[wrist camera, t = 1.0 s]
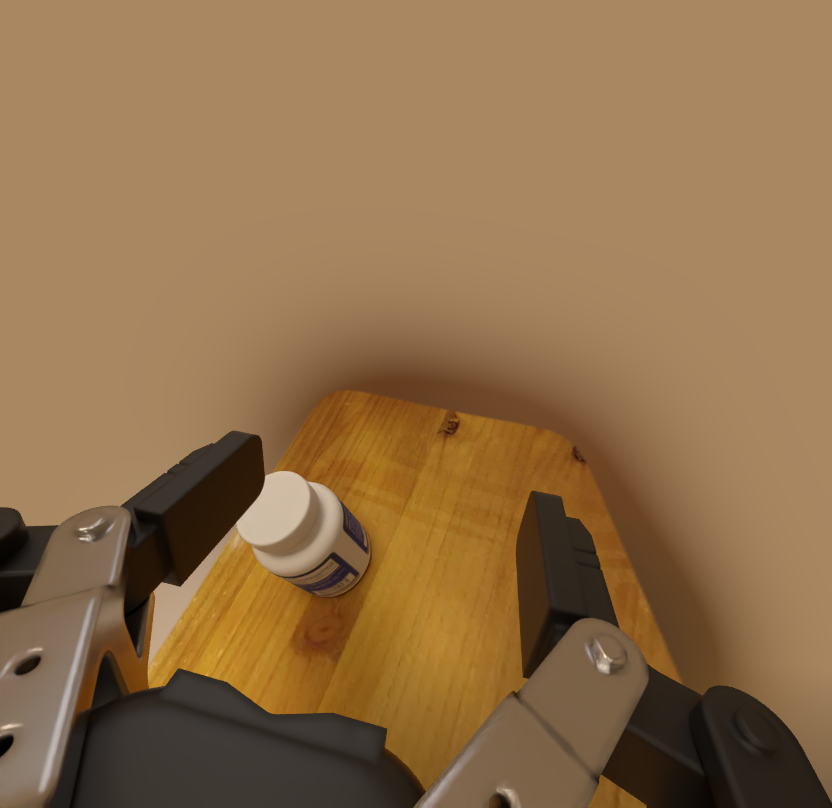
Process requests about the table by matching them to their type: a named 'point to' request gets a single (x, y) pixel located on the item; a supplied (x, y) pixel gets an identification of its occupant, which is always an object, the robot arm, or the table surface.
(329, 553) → the pill bottle
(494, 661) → the table surface
